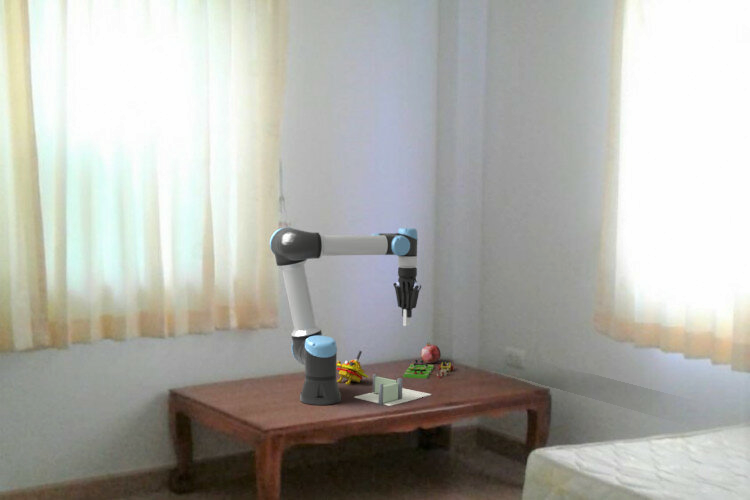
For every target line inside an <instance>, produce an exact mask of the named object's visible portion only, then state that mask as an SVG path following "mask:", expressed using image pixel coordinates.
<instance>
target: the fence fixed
mask: <svg viewBox="0 0 750 500" xmlns="http://www.w3.org/2000/svg"><path fill="white" fill-rule="evenodd" d="M403 382H404V379H403V377H398V378H397V383H393V384H389V385H385V386H383V384H379V403H378V405H379V406H382V405H383V403H385V402H389V401H393V400H397V399H402V388H403ZM383 406H384V405H383Z"/></svg>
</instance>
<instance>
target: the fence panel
mask: <svg viewBox="0 0 750 500" xmlns="http://www.w3.org/2000/svg"><path fill="white" fill-rule="evenodd" d="M393 383H397V380H396V379H392V378H387V377H386V378H385V377H381V376H378V373H373V374H372V392H375V393H379V384H383V386H385V385H389V384H393Z"/></svg>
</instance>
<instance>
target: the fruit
mask: <svg viewBox="0 0 750 500" xmlns="http://www.w3.org/2000/svg"><path fill="white" fill-rule="evenodd" d="M441 356H442V354H441V350H440V348H439V346H437V345H435V344H431V342H430V341H428V342H427V343H426V345H425V346H424V347H422V349H421V352H420V358H421V360H424V361H423V363H425V364H432V363H436V362H437V361H439V360H440V359H441Z"/></svg>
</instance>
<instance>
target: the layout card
mask: <svg viewBox="0 0 750 500" xmlns="http://www.w3.org/2000/svg"><path fill="white" fill-rule="evenodd" d="M429 396H432V393H427V392H423V391H418V390H413V389H408V388H404V387H402V399H397V400H393V401H389V402H385V403H383V406H388V407H391V406H396V405H400V404H404V403H407V402H411V401H415V400H417V399H421V398H422V397H423V398H427V397H429ZM354 399H358V400H363V401H367V402H371V403H375V404H379V393H375V392H373V391H372V392H368V393H364V394H359V395H356V396H354Z"/></svg>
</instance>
